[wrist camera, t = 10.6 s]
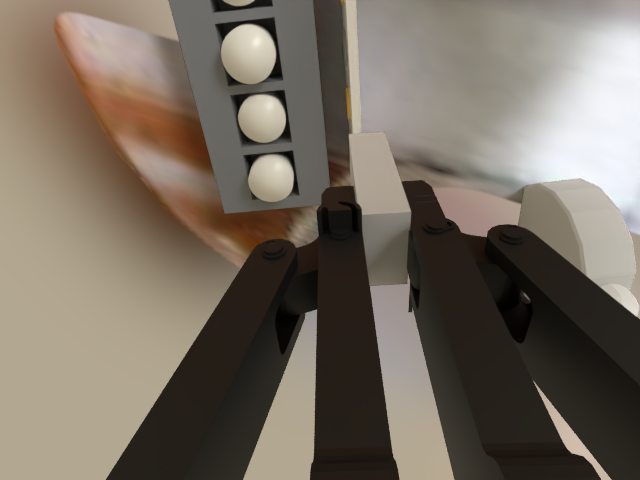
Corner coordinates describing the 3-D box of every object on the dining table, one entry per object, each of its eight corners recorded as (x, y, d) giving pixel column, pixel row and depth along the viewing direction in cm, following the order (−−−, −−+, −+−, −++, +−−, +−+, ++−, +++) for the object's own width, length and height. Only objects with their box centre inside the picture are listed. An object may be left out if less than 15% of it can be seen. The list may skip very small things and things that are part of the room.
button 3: (238, 90, 41) (233, 98, 39) (283, 85, 41) (281, 93, 38) (247, 134, 44) (243, 144, 41) (290, 130, 43) (288, 140, 41)
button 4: (248, 152, 43) (244, 163, 41) (291, 147, 43) (289, 159, 40) (256, 191, 46) (252, 203, 43) (296, 187, 46) (295, 199, 43)
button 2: (222, 25, 36) (215, 29, 34) (273, 19, 36) (269, 23, 34) (233, 78, 39) (227, 86, 37) (280, 74, 39) (278, 81, 36)
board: (165, -75, 35) (147, -80, 31) (304, -93, 34) (303, -100, 31) (231, 195, 49) (224, 213, 46) (330, 185, 49) (331, 203, 45)
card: (335, -52, 36) (339, -56, 30) (347, -54, 36) (353, -57, 30) (348, 160, 47) (353, 187, 41) (357, 159, 47) (363, 186, 41)
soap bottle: (547, 270, 56) (645, 396, 40) (508, 274, 57) (588, 400, 40) (573, 162, 48) (712, 266, 31) (526, 167, 48) (639, 274, 31)
